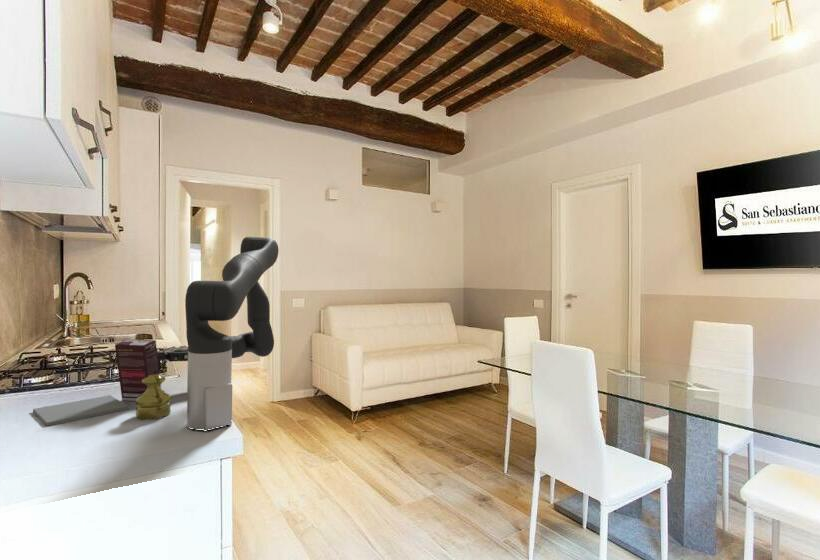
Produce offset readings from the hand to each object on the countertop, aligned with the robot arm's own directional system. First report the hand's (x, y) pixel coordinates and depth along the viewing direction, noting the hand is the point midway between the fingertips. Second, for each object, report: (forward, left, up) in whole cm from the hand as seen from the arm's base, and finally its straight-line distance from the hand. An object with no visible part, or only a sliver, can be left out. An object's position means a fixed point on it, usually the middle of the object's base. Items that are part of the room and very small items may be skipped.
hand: (148, 357), depth 117 cm
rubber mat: (0, +15, -11) cm, 18 cm away
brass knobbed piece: (-16, +4, -11) cm, 20 cm away
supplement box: (0, +1, -11) cm, 11 cm away
